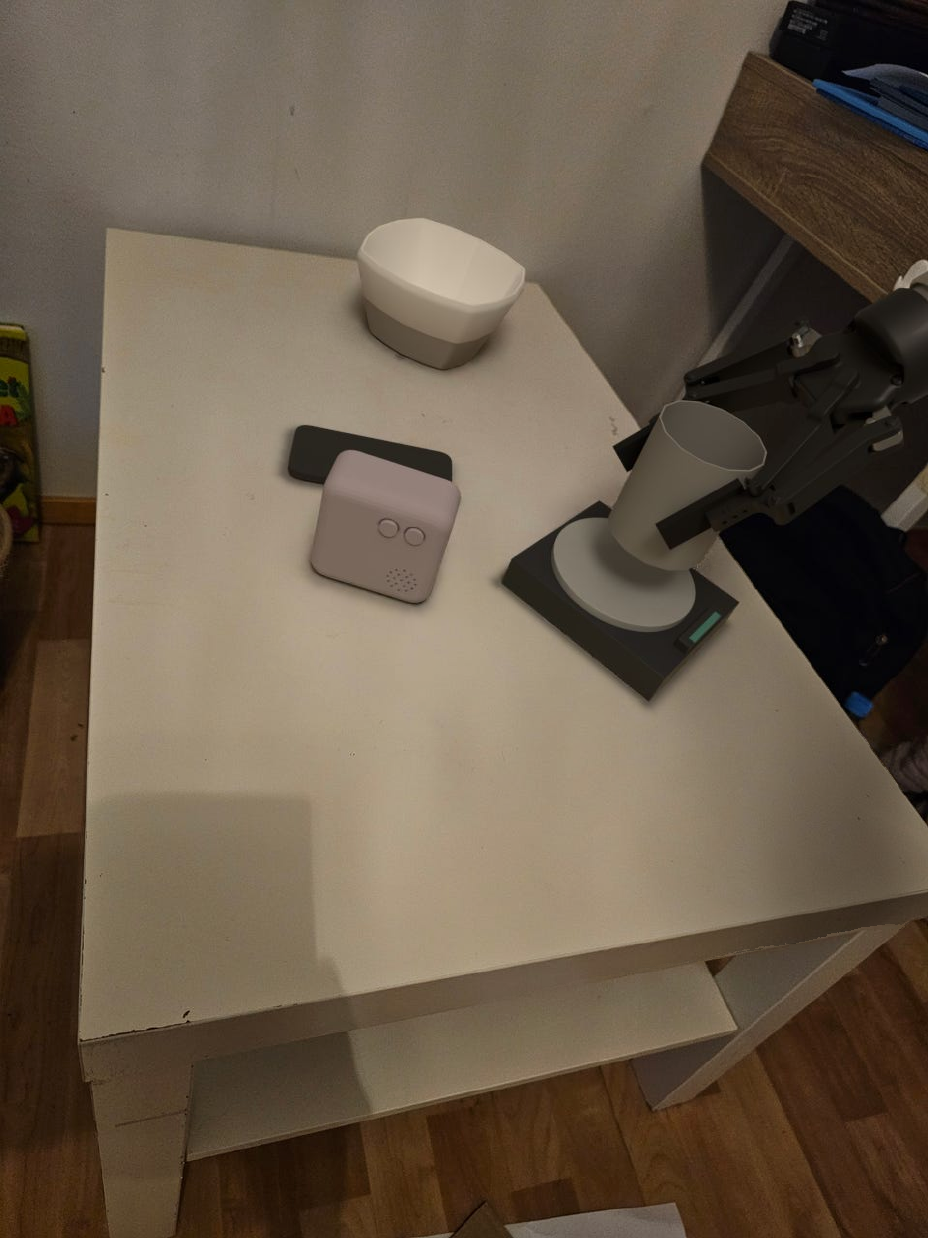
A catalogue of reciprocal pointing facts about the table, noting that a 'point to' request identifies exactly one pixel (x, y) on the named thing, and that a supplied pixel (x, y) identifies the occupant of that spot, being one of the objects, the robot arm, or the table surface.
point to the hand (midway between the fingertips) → (640, 496)
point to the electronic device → (383, 526)
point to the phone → (323, 446)
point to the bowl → (435, 289)
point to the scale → (618, 600)
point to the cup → (682, 479)
